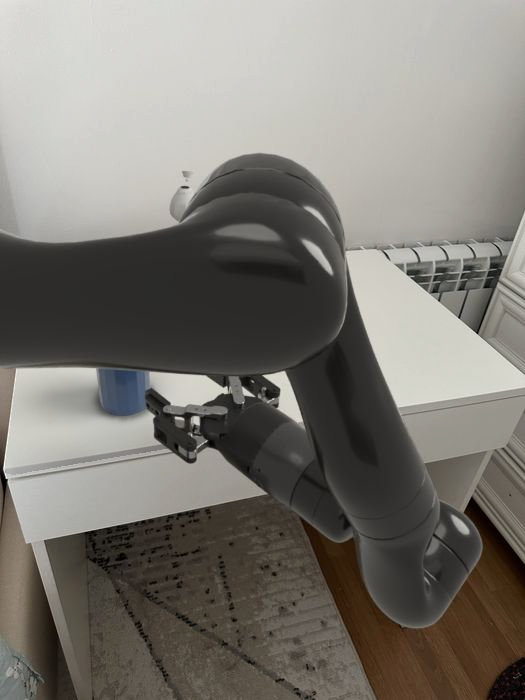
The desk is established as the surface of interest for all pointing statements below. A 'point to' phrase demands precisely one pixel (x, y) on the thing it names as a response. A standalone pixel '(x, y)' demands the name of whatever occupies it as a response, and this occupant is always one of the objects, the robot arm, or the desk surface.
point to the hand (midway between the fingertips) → (177, 379)
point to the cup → (122, 390)
